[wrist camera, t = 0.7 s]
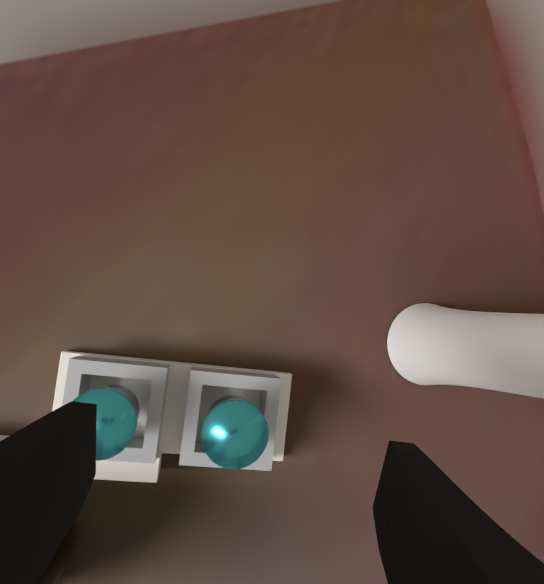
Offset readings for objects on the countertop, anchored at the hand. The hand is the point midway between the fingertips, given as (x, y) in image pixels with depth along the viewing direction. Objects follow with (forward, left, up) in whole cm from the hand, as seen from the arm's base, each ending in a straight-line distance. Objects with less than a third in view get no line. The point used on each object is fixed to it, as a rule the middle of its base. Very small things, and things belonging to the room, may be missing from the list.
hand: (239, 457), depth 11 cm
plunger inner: (-3, +6, -17) cm, 18 cm away
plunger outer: (-3, -1, -17) cm, 17 cm away
